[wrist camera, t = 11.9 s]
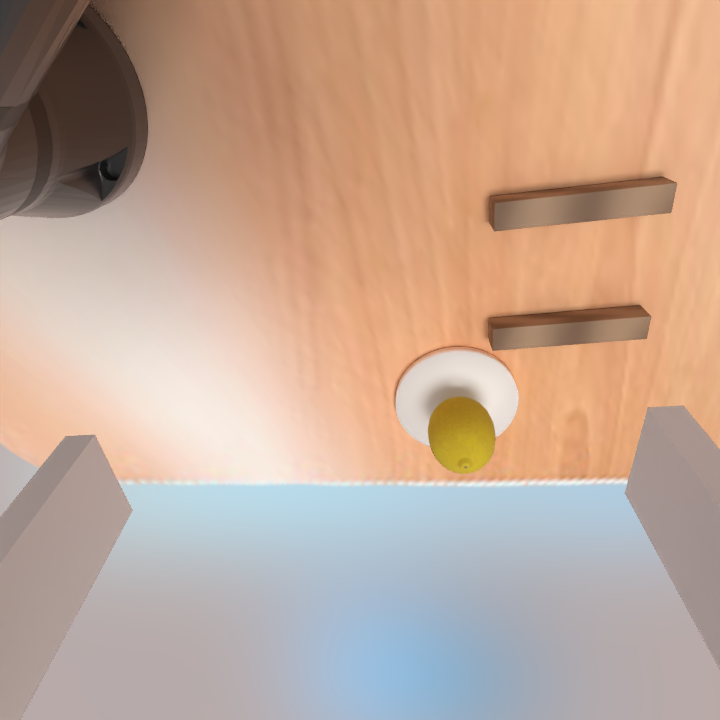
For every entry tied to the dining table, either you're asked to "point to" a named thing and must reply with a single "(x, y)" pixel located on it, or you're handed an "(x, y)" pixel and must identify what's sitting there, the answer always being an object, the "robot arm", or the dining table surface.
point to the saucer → (455, 388)
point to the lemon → (461, 435)
